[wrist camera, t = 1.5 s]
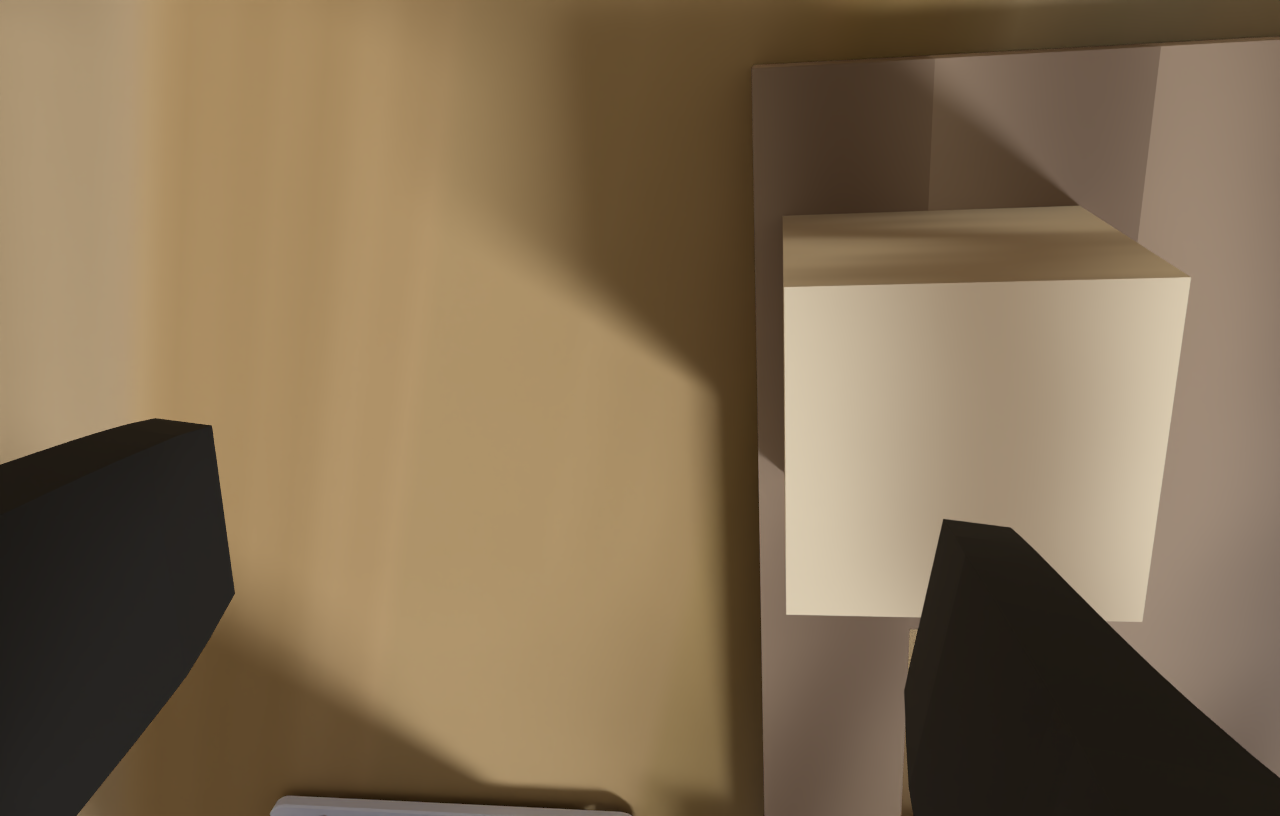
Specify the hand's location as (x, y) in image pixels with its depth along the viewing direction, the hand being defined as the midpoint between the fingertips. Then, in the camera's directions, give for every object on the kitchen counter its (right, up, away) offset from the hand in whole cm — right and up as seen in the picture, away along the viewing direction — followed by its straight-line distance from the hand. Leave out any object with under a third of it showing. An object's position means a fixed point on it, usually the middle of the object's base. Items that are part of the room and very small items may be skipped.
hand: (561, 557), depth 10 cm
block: (+6, +3, +8) cm, 11 cm away
